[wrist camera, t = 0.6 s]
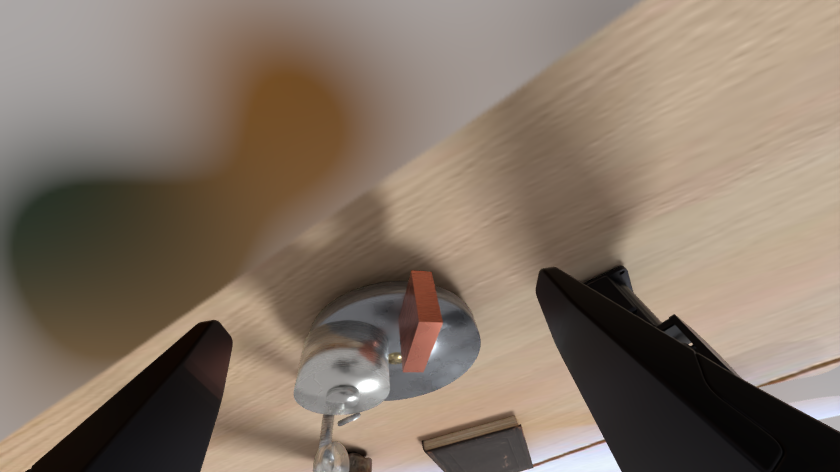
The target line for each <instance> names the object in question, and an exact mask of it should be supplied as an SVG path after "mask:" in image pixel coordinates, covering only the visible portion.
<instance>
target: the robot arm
mask: <svg viewBox="0 0 840 472" xmlns="http://www.w3.org/2000/svg"><path fill="white" fill-rule="evenodd" d="M536 295H537V298H538V301H539V303H540V306H541V309H542V311H543V314H544V316H545V319H546V321H547V324H548V327H549V329H550V332H551V334H552V337H553V339H554V342H555V344H556V346H557V348H558V350H559V352H560V354H561V356H562V358H563V360H564V362H565V364H566V366H567V368H568V370H569V372H570V373H571V375H572V377H573V379H574V381H575V383H576V385H577V387H578V389H579V391H580V393H581V395H582V397H583V398H584V400H585V402H586V404H587V406H588V408H589V410H590V412H591V414H592V416H593V418H594V420H595V421H596V423H597V425H598V427H599V429H600V431H601V433H602V435H603V437H604V439H605V441H606V443H607V444H608V446H609V448H610V450H611V452H612V454H613V456H614V458H615V460H616V462H617V464H618V466H619V468H620V469H621V471H622V472H840V432H839V431H837V430H835V429H833V428H832V427H830V426H828V425H826V424H824V423H822V422H820V421H818V420H817V419H815V418H813V417H811V416H809V415H807V414H805V413H803V412H802V411H800V410H798V409H796V408H794V407H792V406H790V405H788V404H787V403H785V402H783V401H781V400H779V399H777V398H775V397H774V396H772V395H770V394H768V393H766V392H765V391H763V390H761V389H759V388H757V387H755V386H754V385H752V384H750V383H748V382H747V381H745V380H743V379H742V378H741V377H740V376H739V375H738V374H737V373H736V372H735V371H734V370H733V369H732V368H731V367H730V366H729V364H728V363H727V362H726V361H725V360H724V359H723V358H722V357H721V356H720V355H719V354H718V353H717V352H716V351H715V350H714V349H713V348H712V347H711V346H710V345H709V344H708V343H707V342H706V341H705V340H704V339H702V338H701V337H700V336H699V335H698V334H697V333H696V332H695V331H694V330H693V329H692V328H691V327H689V326H688V325H687V324H686V323H685V322H683V321H682V320H681V319H680V318H679V317H677V316H676V315H675V314H674V315H672V316H670V317H669V319H668V320H666V321H664V322H663V323H662V322H661V321H660V320H659V319H658V318H657V317H656V316H655V315H654V314H653V313H652V312H651V311H650V310H649V309H648V307H647V306H646V305H645V304H644V303H643V302H642V301H641V300H640V299H639V298H638V297H637V296H636V295H635V294H634V293H633V290H632V286H631V282H630V278H629V274H628V271H627V269H626V268H625V267H624V266H620V267H617V268H615V269H613V270H611V271H609V272H607V273H605V274H603V275H601V276H599V277H597V278H594V279H592V280H590V281H588V282H586V283H584V284H583V283H581V282H580V281H578V280H577V279H575V278H573V277H572V276H570V275H568V274H567V273H565V272H563V271H562V270H560V269H558V268H556V267H549V268H543V269H541V270H540V271H539V275H538V280H537V284H536ZM691 342H692V343H693V345H692V346H689V345H688V344H689V343H691ZM232 345H233V342H232V338H231V336H230V335H229V333H228V332H227V331H226V330H225V328H224V327H223V326H222V325H221V323H220V322H219V321H217V320H211V321H204V322H200V323H198V324H197V325H195V326H194V327H193V328H192V329H191V330H190V331H188V332H187V333H186V334H185V335H184V336H183V337H181V338H180V339H179V340H178V341H177V342H176V343H174V344H173V345H172V346H171V347H170V348H169V349H167V350H166V351H165V352H164V353H163V354H162V355H160V356H159V357H158V358H157V359H156V360H155V361H154V362H152V363H151V364H150V365H149V366H148V367H147V368H145V369H144V370H143V371H142V372H141V373H140V374H138V375H137V376H136V377H135V378H134V379H133V380H131V381H130V382H129V383H128V384H127V385H126V386H124V387H123V388H122V389H121V390H120V391H119V392H117V393H116V394H115V395H114V396H113V397H112V398H111V399H109V400H108V401H107V402H106V403H105V404H104V405H102V406H101V407H100V408H99V409H98V410H97V411H95V412H94V413H93V414H92V415H91V416H90V417H88V418H87V419H86V420H85V421H84V422H83V423H81V424H80V425H79V426H78V427H77V428H76V429H74V430H73V431H72V432H71V433H70V434H69V435H67V436H66V437H65V438H64V439H63V440H62V441H60V442H59V443H58V444H57V445H56V446H55V447H53V448H52V449H51V450H50V451H49V452H48V453H47V454H45V455H44V456H43V457H42V458H41V459H40V460H38V461H37V462H36V463H35V464H34V465H33V466H32V468H31V469H29V470H27V471H25V472H200V471H201V468H202V464H203V461H204V458H205V455H206V451H207V448H208V445H209V441H210V438H211V435H212V432H213V428H214V425H215V422H216V418H217V415H218V412H219V408H220V405H221V401H222V397H223V392H224V387H225V382H226V377H227V372H228V367H229V361H230V356H231V351H232Z"/></svg>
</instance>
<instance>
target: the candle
mask: <svg viewBox="0 0 840 472" xmlns="http://www.w3.org/2000/svg"><path fill="white" fill-rule="evenodd" d="M348 457H349V472H372V459H371V458H365V457H364V456H361V455H360V454H359V453H354V452H353V453H350V454H348Z"/></svg>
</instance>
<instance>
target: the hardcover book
mask: <svg viewBox="0 0 840 472" xmlns="http://www.w3.org/2000/svg"><path fill="white" fill-rule="evenodd" d="M422 446H423V450H424V452H425V453H426V454H427V455H428V456H429V457H430V458H431V459H432V460H433V461H434V462H435V463H436V464H437V465H438V466H439V467H440V468H441V469H442V470H443V471H444V472H520V471H523V470H527V469H531V468H533V464H532V461H531V457H530V454H529V451H528V447H527V444H526V440H525V437H524V433H523V430H522V427H521V424H520V425H518V422H517V419H516V417H515V416H512V417H509V418H505V419H501V420H498V421H494V422H491V423H487V424H483V425H480V426H476V427H472V428H469V429H465V430H462V431H458V432H454V433H451V434H447V435H443V436H440V437H436V438H433V439H429V440H425V441H422Z"/></svg>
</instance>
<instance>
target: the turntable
mask: <svg viewBox="0 0 840 472" xmlns="http://www.w3.org/2000/svg"><path fill="white" fill-rule="evenodd" d="M341 320H354V321H361V322H365V323H369V324H371V325H373V326H375V327H377V328H379V329H380V330H381V331H382V332H383V333H384V334H385V336H386V337H387V341H388V359H389V381H390V391H389V394H388V396H387V398H386V399H385V400H384V401H391V400H400V399H407V398H412V397H416V396H420V395H424V394H427V393H430V392H433V391H435V390H438V389H440V388H442V387H444V386H446V385H448V384H450V383H451V382H453V381H455V380H456V379H457V378H459V377H460V376H462V375H463V374H464V373H465V372H466V371H467V370H468V369H469V368H470V367H471V366H472V364H473V363H474V361H475V360H476V358H477V356H478V354H479V350H480V335H479V332H478V329H477V326H476V323H475V320H474V317H473V314H472V312H471V310H470V308H469V307H468V306H467V304H466V303H465V302H464V301H463V300H462V299H461V298H459V297H458V296H457V295H455V294H454V293H452V292H450V291H448V290H446V289H444V288H441V287H438V286H435V285H434V281H433V277H432V272H426V271H413V270H411V273H410V277H409V281H393V282H383V283H377V284H372V285H368V286H365V287H361V288H358V289H356V290H353V291H350V292H348V293H346V294H344V295H342V296H340V297H338V298H337V299H335V300H334V301H332V302H331V303H330V304H328V305H327V306H326V307H325V308H324V309H323V310H322V311H321V312H320V313H319V315H318V316H317V317H316V319H315V320H314V322H313V324H312V327H311V330H310V332H311V331H313V330H314V329H315V328H317V327H319V326H321V325H323V324H326V323H330V322H334V321H341Z"/></svg>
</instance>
